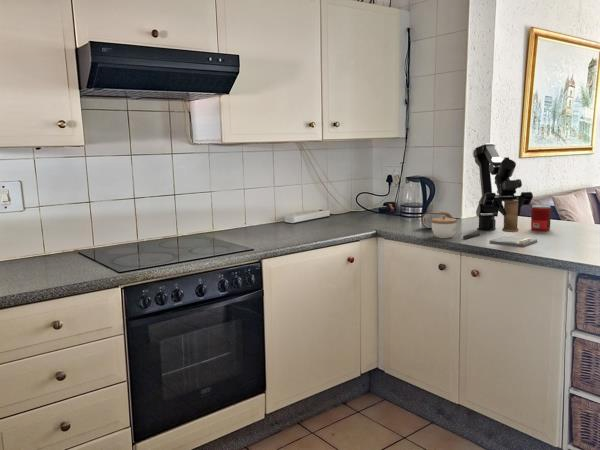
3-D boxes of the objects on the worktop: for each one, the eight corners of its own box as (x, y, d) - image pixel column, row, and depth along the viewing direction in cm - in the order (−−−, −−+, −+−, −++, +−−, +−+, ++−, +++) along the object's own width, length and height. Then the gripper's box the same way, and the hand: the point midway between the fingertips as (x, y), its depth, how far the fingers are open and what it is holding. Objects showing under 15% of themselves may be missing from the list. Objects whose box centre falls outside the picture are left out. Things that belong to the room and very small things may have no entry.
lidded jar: (427, 238, 233) (427, 216, 231) (436, 234, 242) (436, 213, 240) (451, 239, 227) (451, 218, 225) (459, 235, 236) (460, 214, 234)
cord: (465, 239, 226) (465, 235, 226) (462, 239, 227) (462, 235, 227) (480, 235, 235) (480, 231, 235) (477, 234, 237) (477, 231, 236)
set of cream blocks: (519, 243, 210) (519, 240, 209) (527, 240, 215) (527, 237, 215) (522, 243, 209) (523, 240, 208) (530, 240, 214) (530, 237, 214)
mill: (499, 230, 218) (500, 200, 216) (511, 229, 220) (512, 199, 218) (509, 232, 212) (510, 201, 210) (521, 231, 214) (522, 200, 212)
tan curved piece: (453, 229, 251) (453, 212, 250) (451, 230, 249) (451, 213, 248) (423, 227, 260) (423, 210, 259) (420, 228, 258) (420, 211, 256)
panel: (489, 243, 217) (489, 240, 217) (503, 238, 226) (503, 235, 226) (523, 246, 207) (523, 244, 207) (537, 241, 216) (537, 239, 216)
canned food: (551, 231, 239) (552, 206, 237) (532, 231, 241) (533, 207, 239) (547, 228, 247) (548, 204, 245) (529, 228, 248) (530, 204, 246)
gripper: (485, 173, 217) (492, 203, 208) (532, 171, 216) (541, 202, 207) (479, 190, 226) (486, 220, 217) (524, 189, 225) (533, 219, 216)
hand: (511, 215), depth 214 cm, fingers closed on mill, 5 cm apart
